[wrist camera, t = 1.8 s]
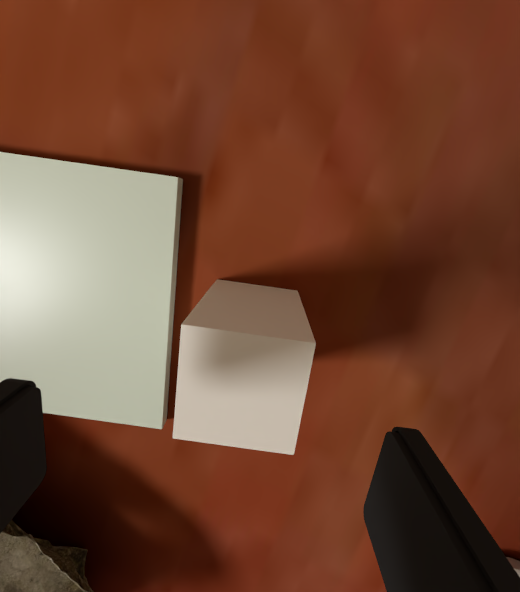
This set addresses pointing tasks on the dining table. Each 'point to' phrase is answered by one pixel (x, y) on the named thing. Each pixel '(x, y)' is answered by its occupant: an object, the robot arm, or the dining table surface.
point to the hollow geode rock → (39, 564)
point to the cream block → (244, 368)
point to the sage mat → (89, 286)
